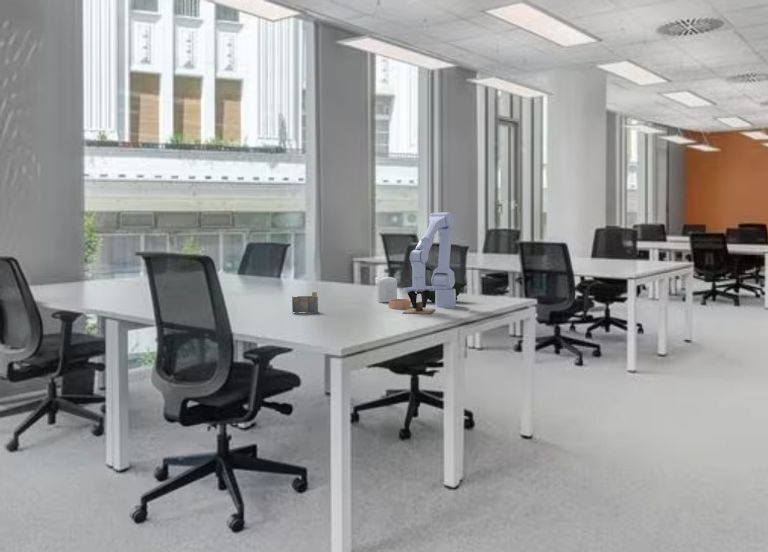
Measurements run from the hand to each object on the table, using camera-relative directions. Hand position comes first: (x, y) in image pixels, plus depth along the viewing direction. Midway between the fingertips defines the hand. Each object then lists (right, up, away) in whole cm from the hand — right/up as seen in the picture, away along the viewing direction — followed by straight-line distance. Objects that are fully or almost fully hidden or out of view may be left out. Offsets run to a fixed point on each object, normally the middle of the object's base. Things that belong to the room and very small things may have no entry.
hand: (419, 308), depth 302 cm
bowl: (-8, -1, +14) cm, 16 cm away
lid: (0, -2, 0) cm, 2 cm away
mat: (0, -2, 0) cm, 2 cm away
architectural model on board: (-51, -3, +7) cm, 51 cm away
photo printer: (-14, +1, +39) cm, 41 cm away
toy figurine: (+13, +1, +37) cm, 39 cm away
